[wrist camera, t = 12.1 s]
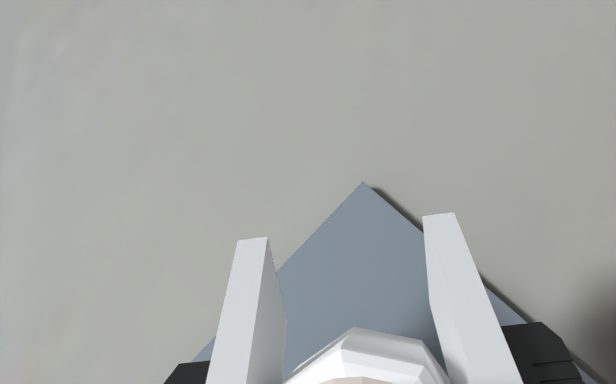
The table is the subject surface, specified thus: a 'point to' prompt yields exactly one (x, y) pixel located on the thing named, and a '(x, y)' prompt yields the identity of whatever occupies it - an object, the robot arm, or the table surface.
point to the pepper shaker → (370, 361)
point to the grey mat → (361, 283)
